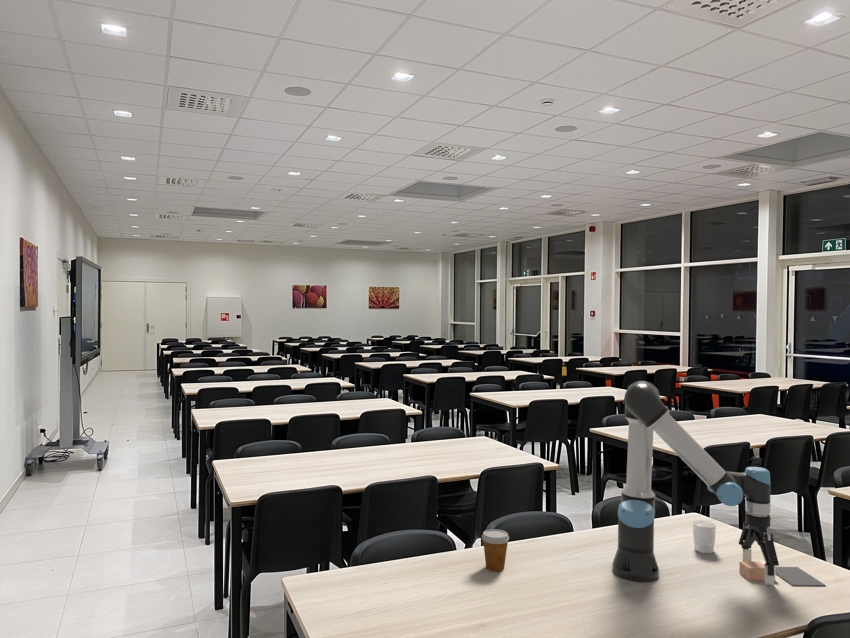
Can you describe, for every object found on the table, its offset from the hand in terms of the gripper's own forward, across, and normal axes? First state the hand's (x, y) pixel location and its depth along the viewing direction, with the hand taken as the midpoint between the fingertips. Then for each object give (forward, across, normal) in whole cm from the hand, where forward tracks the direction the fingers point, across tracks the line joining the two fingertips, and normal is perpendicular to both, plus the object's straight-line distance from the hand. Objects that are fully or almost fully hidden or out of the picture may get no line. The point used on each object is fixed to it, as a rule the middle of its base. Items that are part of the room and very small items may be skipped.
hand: (757, 576), depth 208 cm
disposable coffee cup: (0, +5, +89) cm, 89 cm away
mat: (0, 0, -13) cm, 13 cm away
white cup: (0, +24, +7) cm, 25 cm away
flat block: (0, 0, 0) cm, 0 cm away
